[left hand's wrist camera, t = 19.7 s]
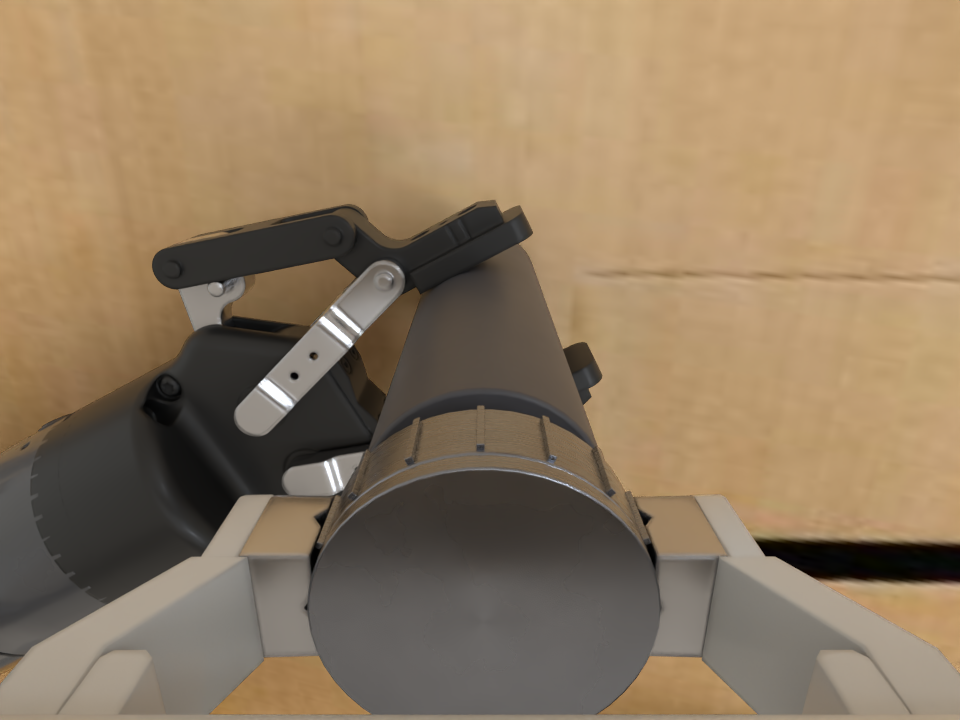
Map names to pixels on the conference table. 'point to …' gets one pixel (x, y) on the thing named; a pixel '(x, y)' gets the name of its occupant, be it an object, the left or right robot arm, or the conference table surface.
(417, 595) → the lid
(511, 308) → the grey tall cylinder
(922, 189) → the conference table surface
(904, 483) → the conference table surface
